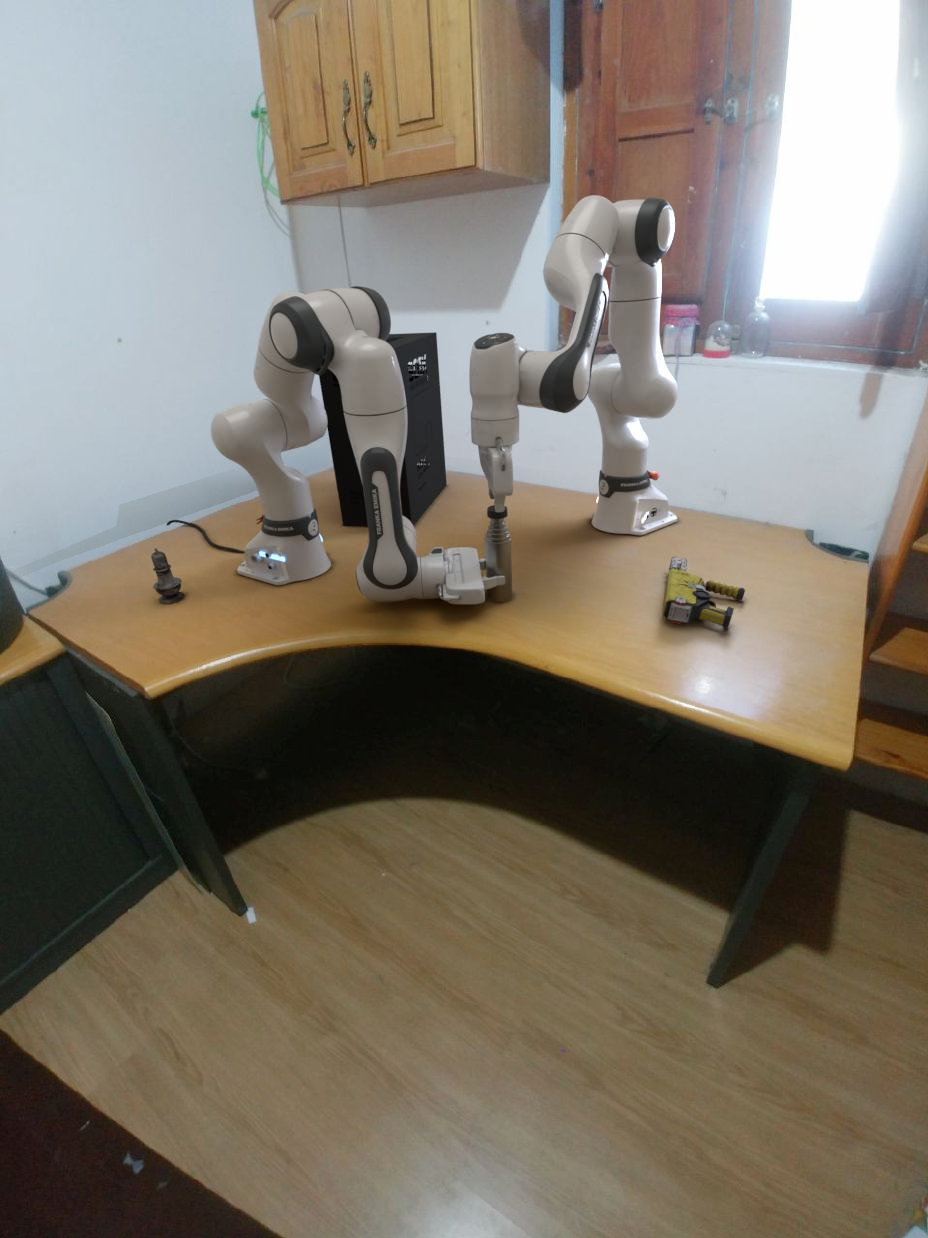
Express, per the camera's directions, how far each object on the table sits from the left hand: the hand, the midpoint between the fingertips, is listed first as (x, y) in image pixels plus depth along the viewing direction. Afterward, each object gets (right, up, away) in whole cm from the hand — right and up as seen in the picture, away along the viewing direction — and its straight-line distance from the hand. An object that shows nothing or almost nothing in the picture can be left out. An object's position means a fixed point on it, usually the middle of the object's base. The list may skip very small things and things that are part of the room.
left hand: (503, 572), depth 125 cm
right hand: (-2, +13, -8) cm, 15 cm away
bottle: (-1, -5, +3) cm, 6 cm away
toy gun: (+40, -6, -4) cm, 41 cm away
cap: (-2, +12, -7) cm, 14 cm away
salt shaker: (-73, -5, +10) cm, 74 cm away
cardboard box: (-28, +25, +57) cm, 69 cm away
